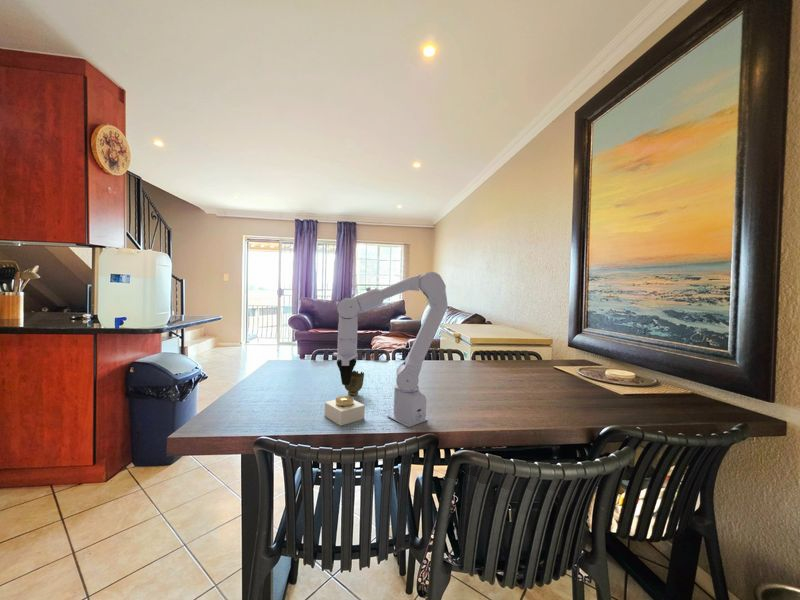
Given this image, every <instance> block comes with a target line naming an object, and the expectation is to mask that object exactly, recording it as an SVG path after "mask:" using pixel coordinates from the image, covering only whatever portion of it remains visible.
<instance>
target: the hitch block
mask: <svg viewBox="0 0 800 600" xmlns="http://www.w3.org/2000/svg"><path fill="white" fill-rule="evenodd" d="M365 407H366V405H365V404H363V403H361V402H359V401H358V400H355V399H354V404H353V405H352V406H349V407H340V406H337V405H336V399H331V400H328V401H325V402H324V414H323V415H324V416H325V417H326V418H327V419H329V420H330V421H332V422H334V423H335V424H337V425H339V426H341V427H342V426H345V425H348V424H352V423H355V422H357V421H361V420H364V419H365Z"/></svg>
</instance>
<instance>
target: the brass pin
mask: <svg viewBox="0 0 800 600" xmlns="http://www.w3.org/2000/svg"><path fill="white" fill-rule="evenodd" d="M335 400H336V405H337V406H340V407H349V406H352V405H353V404H354V400H355V398H354V396H349V395H340V396H337V397H335Z"/></svg>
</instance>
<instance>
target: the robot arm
mask: <svg viewBox="0 0 800 600" xmlns="http://www.w3.org/2000/svg"><path fill="white" fill-rule="evenodd" d="M407 291H413V292H414V291H415V292H419V291H421V292H422V294H423V295H424V296H425V297H426V299H427V303H428V304H429V309H428V311H427V313H426V315H425V317H424V320H423V321H422V324H421V326H420V328H419V331H418V333H417V334H416V337H415V339H414V342H413V343H412V345H411V348H410V350H409V353H408V354H407V356H406V357H405V358H404V361H403V362H402V363H400V364H399V366H398V367H397V368H396V380H395V381H396V384H395V385H394V388H393V389H394V395H393V397H394V398H393V412H392V413H389V414H387V415H386V417H388V418H390V419H392V420H393V421H395V422H398V423H399V424H401V425H404V426H405V427H407V428H410V427H413V426H416V425H419V424H421V423H424V422H427V421H428V418H427V417H426V416H427V397H426V395H425V394H424V393H422V392H421V391H420V388H419V385H418V384H419V375H420V373H421V370H422V367H423V362H424V360H425V357H426V356H427V354H428V351H429V349H430V347H431V345H432V342H433V340H434V338H435V336H436V334H437V332H438V330H439V327H440V326H441V323H442V321H443V319H444V316H445V314H446V313H447V310H448V307H449V306H448V297H447V291H446V284H445V281H444V280H443V278H442V276H441V275H440V274H439V273H437V272H435V271H428V272H426V273H424V274H417V275H414V276H409V277H407V278H404V279H402V280H400V281H398V282H396V283H394V284H390V285H389V286H386V287H384V288H382V289H379V288H377V287H369V286H368V287H367V288H365V290H364V291H362V292H359V293H356V294H355V293H352V294H351V295H350V297H351V298H349V297H345V298H343V299H341V300H340V301H339V302H338V304H337V306H336V308H337V309H336V310H337V313H338V323H337V324H338V325H337V346H336V347H337V348H336V349H337V350H336V351H337V352H333V354H332V355H333V357H336V358H338V359H337V360H336V366H337V368H338V370H339V373H340V379H341V385H342V386H344V385H349V384H350V381H351V375H352V372H353V371H354V370H355V366H356V364H357V357H358V327H359V325H358V314H359V313H360V314H363V313H366V312H368V311H371V310H373V309H376V308H378V307H381V306H382V304H384V303H383V302H384V301H385V300H386V299H390V298H391V297H394V296H397V295H399V294H402V293H405V292H407Z"/></svg>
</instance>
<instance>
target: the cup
mask: <svg viewBox="0 0 800 600" xmlns="http://www.w3.org/2000/svg"><path fill="white" fill-rule="evenodd" d="M364 380H365V372H363V371H360V373H359V371H358V370H355V369H353V371H352V375H351V381H350V384H349V385H343V386H344V389H345V390H346V391H347V394H348V395H347V396H351V397H357V396H358V395H359V391H361V389H362V388H363V386H364V385H363V384H364Z"/></svg>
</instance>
